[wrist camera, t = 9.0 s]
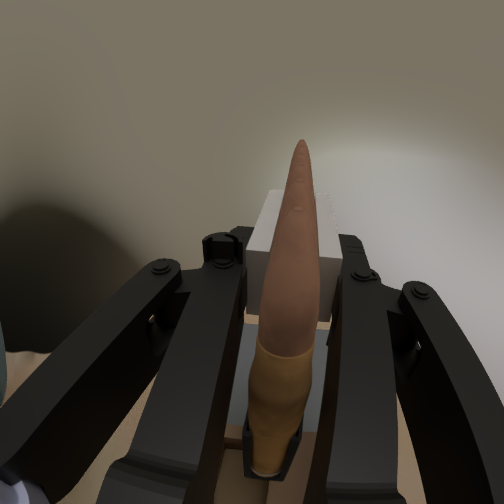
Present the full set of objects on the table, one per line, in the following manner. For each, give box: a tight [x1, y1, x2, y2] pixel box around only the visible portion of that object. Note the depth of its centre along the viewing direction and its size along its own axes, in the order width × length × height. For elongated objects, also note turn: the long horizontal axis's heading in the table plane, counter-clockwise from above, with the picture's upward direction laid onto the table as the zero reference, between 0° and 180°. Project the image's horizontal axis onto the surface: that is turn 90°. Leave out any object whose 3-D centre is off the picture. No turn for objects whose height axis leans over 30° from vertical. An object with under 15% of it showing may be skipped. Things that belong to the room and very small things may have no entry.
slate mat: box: [227, 323, 329, 432], centre depth 26 cm, size 14×13×1 cm
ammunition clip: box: [242, 140, 320, 482], centre depth 11 cm, size 11×2×12 cm, turn 170°
